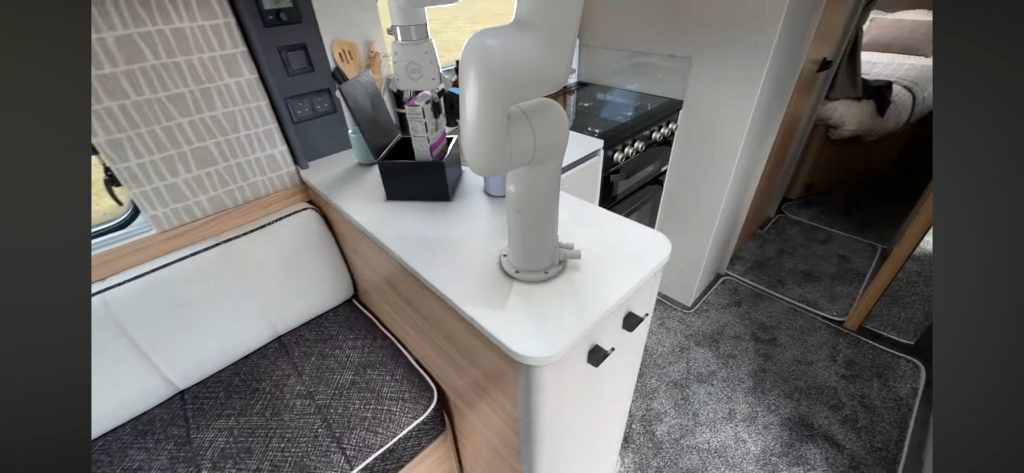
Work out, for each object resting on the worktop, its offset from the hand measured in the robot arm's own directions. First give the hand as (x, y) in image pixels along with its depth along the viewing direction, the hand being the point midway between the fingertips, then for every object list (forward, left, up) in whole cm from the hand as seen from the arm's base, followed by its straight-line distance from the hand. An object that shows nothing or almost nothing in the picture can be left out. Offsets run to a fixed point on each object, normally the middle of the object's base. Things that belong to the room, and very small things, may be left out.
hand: (425, 116), depth 91 cm
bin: (+3, 0, -19) cm, 19 cm away
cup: (+25, -15, -19) cm, 35 cm away
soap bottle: (-18, +2, -19) cm, 26 cm away
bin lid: (+13, 0, +1) cm, 13 cm away
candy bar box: (0, 0, -12) cm, 12 cm away
